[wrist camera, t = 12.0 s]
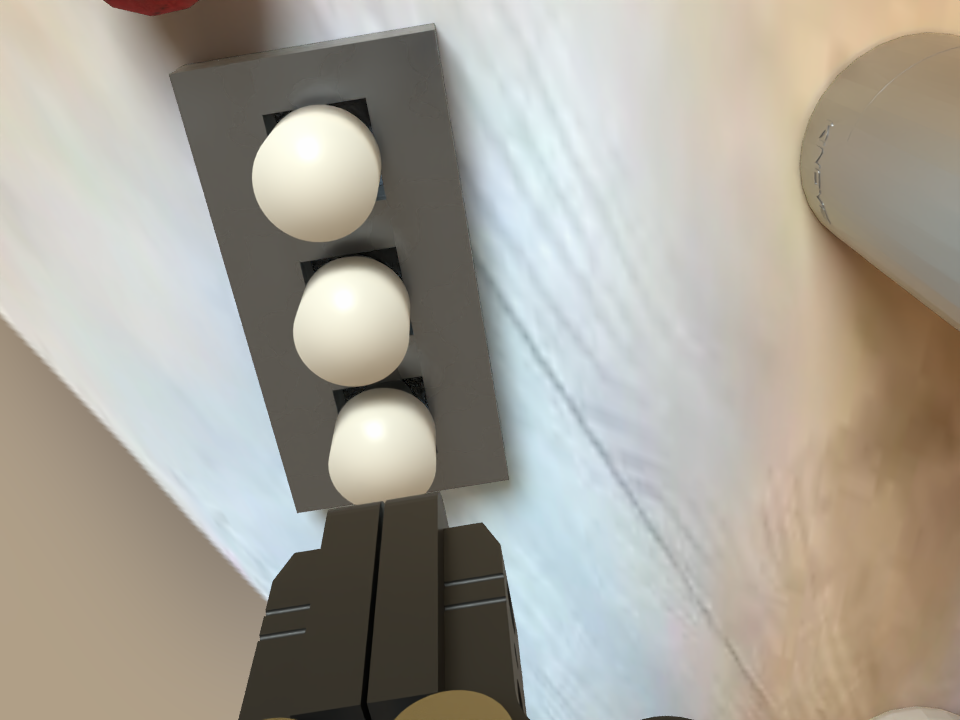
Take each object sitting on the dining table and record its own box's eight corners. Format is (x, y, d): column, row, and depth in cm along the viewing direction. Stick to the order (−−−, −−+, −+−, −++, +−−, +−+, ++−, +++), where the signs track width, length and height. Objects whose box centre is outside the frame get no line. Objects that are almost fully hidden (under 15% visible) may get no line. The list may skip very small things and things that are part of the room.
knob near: (372, 82, 36) (363, 109, 31) (394, 189, 38) (388, 231, 33) (264, 100, 37) (237, 130, 31) (291, 206, 38) (269, 251, 33)
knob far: (425, 350, 42) (425, 412, 36) (442, 432, 44) (444, 502, 38) (331, 365, 42) (317, 429, 37) (351, 447, 44) (341, 518, 38)
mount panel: (434, 23, 36) (434, 29, 34) (504, 452, 45) (509, 479, 42) (184, 65, 36) (168, 74, 34) (303, 484, 45) (297, 512, 43)
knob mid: (401, 225, 39) (397, 272, 34) (419, 318, 41) (418, 377, 36) (300, 242, 39) (280, 291, 34) (323, 334, 41) (308, 394, 36)
